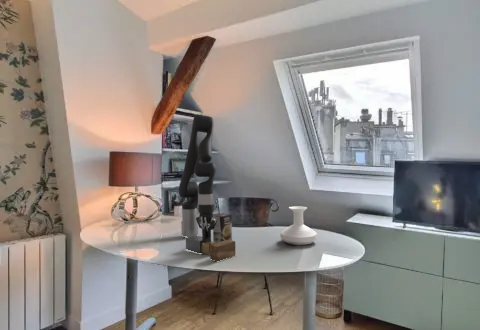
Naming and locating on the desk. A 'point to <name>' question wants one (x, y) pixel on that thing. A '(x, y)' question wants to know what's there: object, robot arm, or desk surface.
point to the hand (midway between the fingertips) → (206, 237)
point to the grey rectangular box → (194, 243)
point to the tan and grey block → (206, 242)
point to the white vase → (298, 229)
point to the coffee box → (222, 228)
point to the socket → (222, 250)
